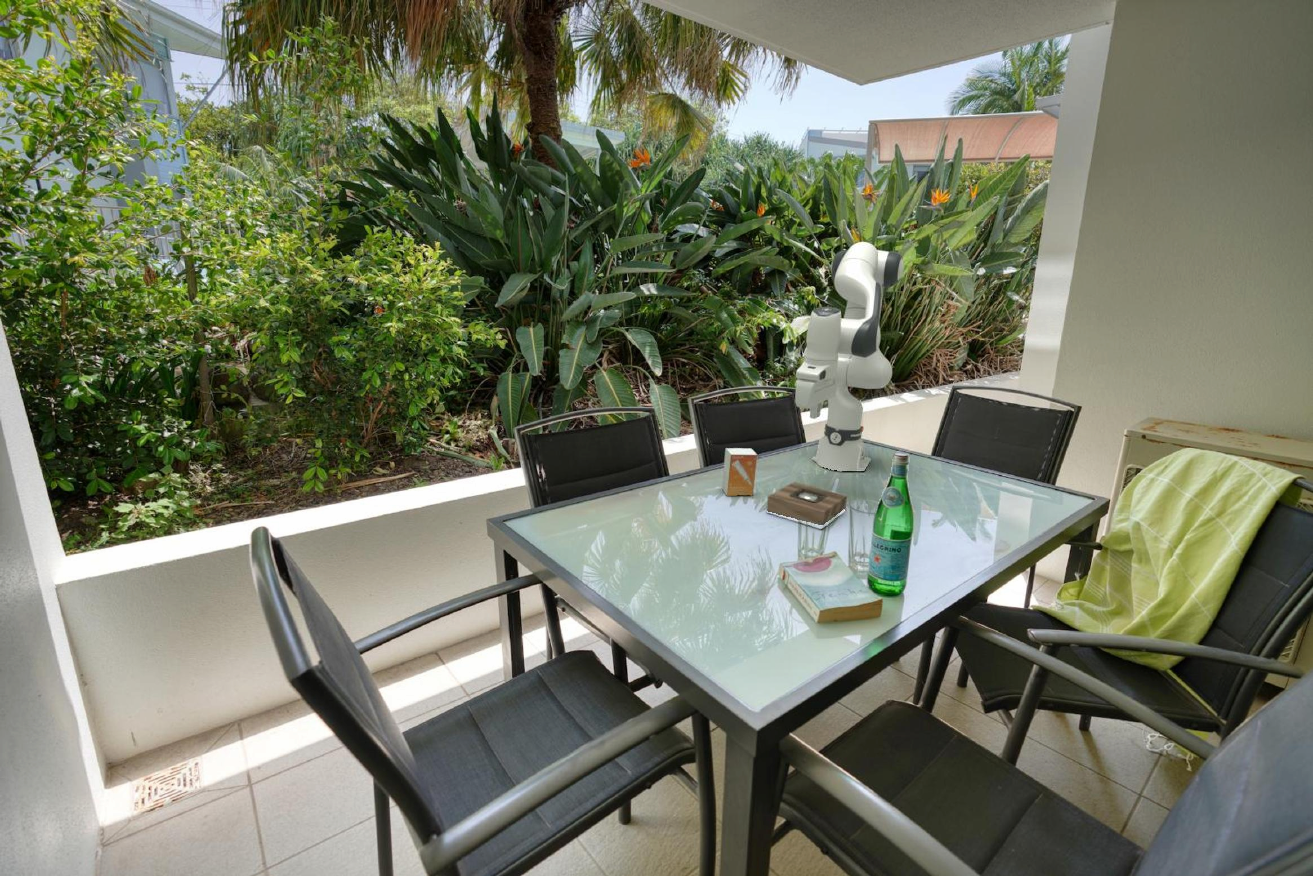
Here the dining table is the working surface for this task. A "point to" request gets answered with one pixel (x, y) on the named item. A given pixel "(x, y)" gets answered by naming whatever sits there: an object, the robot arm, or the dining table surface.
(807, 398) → the robot arm
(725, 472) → the small box
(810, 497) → the peg
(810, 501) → the socket block
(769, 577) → the dining table surface
